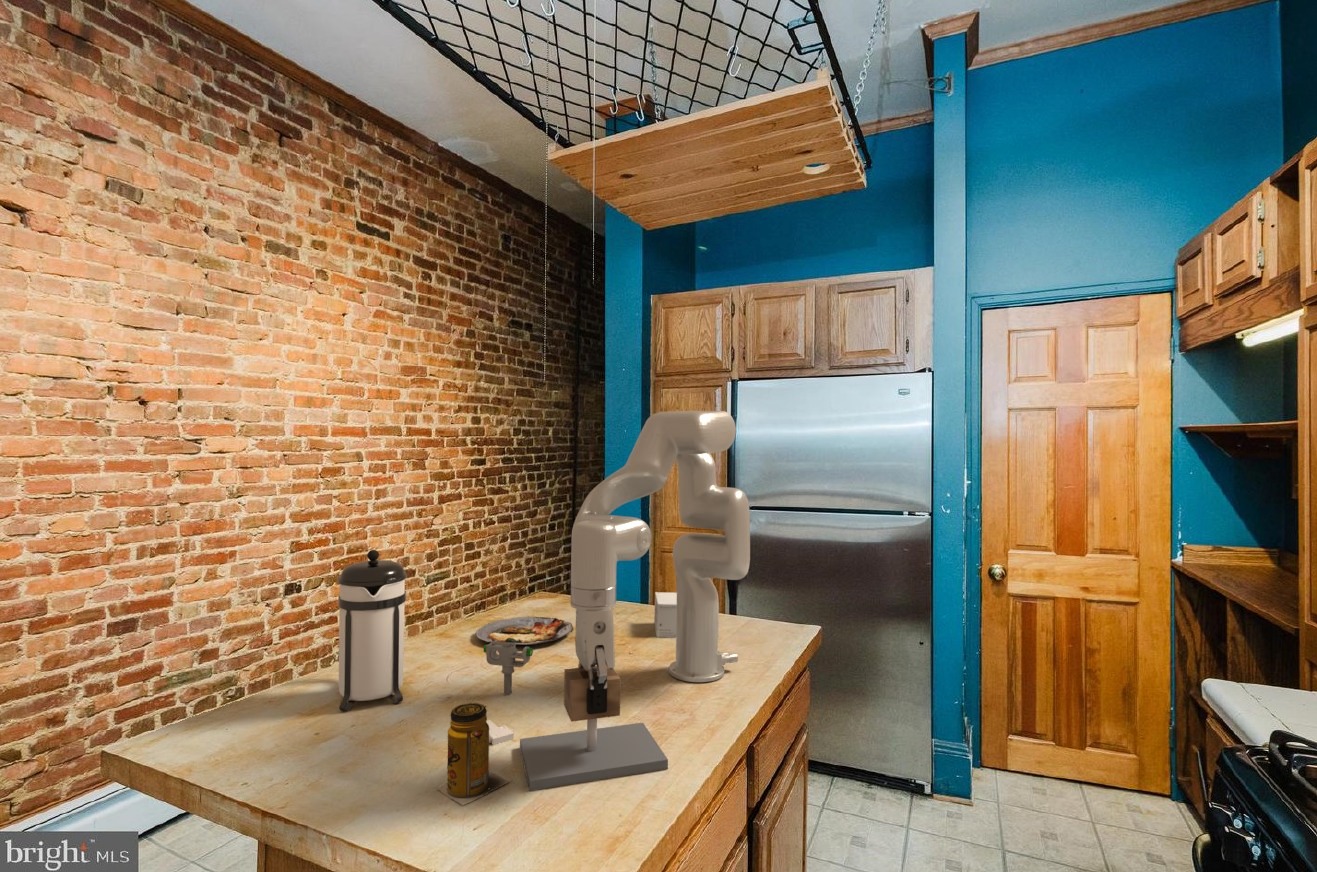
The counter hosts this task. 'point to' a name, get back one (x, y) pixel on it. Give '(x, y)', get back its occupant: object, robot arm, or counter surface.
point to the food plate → (524, 630)
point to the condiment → (469, 755)
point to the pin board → (590, 755)
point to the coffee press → (371, 630)
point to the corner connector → (499, 733)
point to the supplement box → (667, 614)
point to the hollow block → (577, 694)
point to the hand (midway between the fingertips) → (591, 702)
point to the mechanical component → (507, 660)
